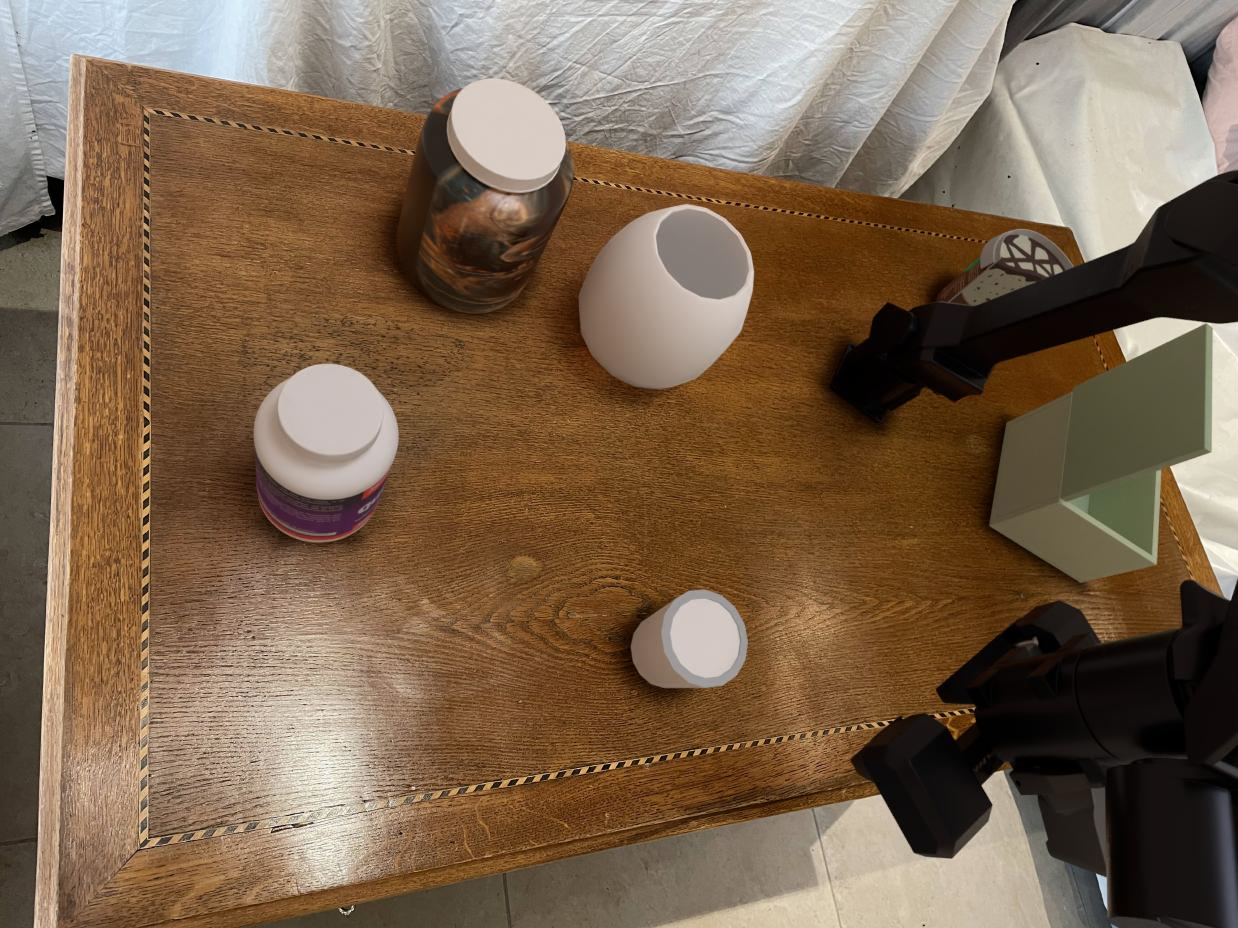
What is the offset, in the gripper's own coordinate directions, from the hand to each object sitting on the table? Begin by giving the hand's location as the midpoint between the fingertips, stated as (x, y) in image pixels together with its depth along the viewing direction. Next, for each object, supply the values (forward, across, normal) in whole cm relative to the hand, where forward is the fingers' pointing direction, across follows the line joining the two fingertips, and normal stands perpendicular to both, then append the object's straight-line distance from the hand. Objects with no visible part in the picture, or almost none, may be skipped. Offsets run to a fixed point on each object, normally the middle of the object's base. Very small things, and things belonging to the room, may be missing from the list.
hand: (899, 728), depth 52 cm
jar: (+12, -6, +48) cm, 50 cm away
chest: (+11, +42, +4) cm, 43 cm away
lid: (-4, +38, +9) cm, 39 cm away
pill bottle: (+13, -24, +33) cm, 43 cm away
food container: (+11, +48, +28) cm, 57 cm away
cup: (+12, +5, +36) cm, 38 cm away
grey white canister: (+13, -6, +11) cm, 18 cm away
